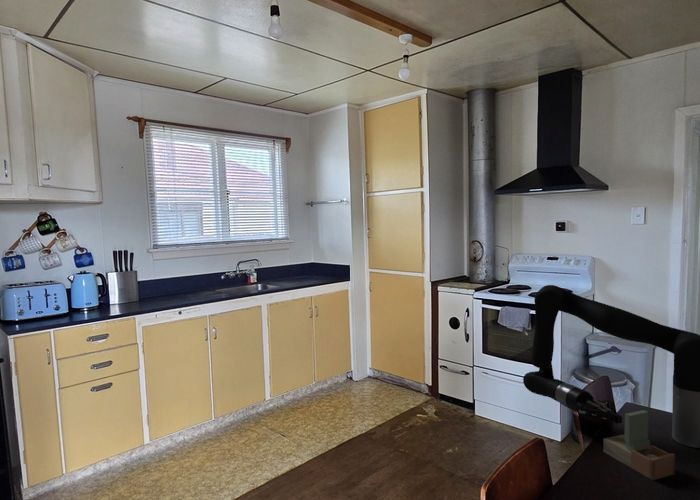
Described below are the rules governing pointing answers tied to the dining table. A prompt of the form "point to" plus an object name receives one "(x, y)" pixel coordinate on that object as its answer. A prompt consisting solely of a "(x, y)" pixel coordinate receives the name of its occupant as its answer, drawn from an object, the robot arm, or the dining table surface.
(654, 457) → the ball
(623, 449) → the beige open box
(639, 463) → the cup
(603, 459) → the dining table surface
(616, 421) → the robot arm
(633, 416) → the green rectangular slab
